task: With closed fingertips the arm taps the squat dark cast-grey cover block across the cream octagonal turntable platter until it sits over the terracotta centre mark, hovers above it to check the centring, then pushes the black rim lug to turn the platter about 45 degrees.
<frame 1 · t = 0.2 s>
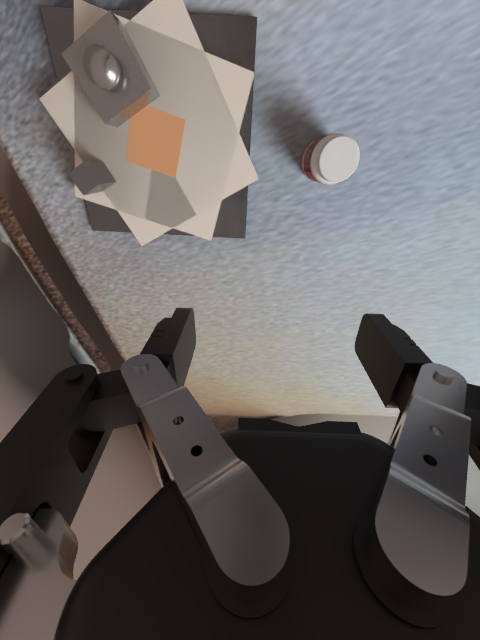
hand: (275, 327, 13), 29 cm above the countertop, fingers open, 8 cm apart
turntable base: (162, 142, 33), on the countertop
cover: (120, 80, 28), point 3 cm above the countertop, touching turntable
turntable: (150, 140, 29), point 5 cm above the countertop, hinge at 0.0°, touching cover
pill bottle: (319, 160, 34), on the countertop
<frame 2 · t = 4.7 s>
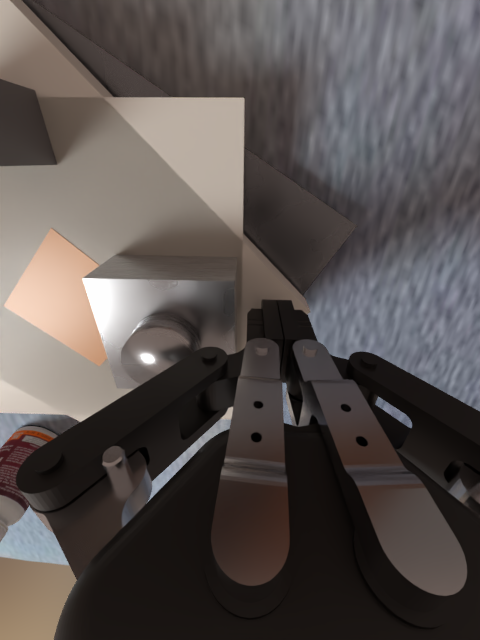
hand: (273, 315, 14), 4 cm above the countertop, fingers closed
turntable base: (105, 284, 17), on the countertop
cover: (182, 309, 14), point 3 cm above the countertop, touching gripper
turntable: (63, 320, 13), point 4 cm above the countertop, hinge at -0.2°
pill bottle: (42, 438, 26), on the countertop
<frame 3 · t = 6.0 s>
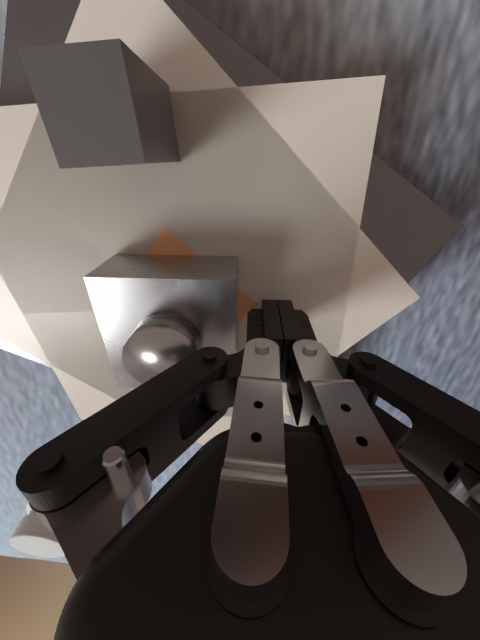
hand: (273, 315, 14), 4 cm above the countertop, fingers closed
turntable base: (190, 284, 17), on the countertop
cover: (182, 308, 15), point 3 cm above the countertop, touching gripper, turntable
turntable: (174, 320, 13), point 4 cm above the countertop, hinge at 3.7°, touching cover
pill bottle: (96, 439, 26), on the countertop
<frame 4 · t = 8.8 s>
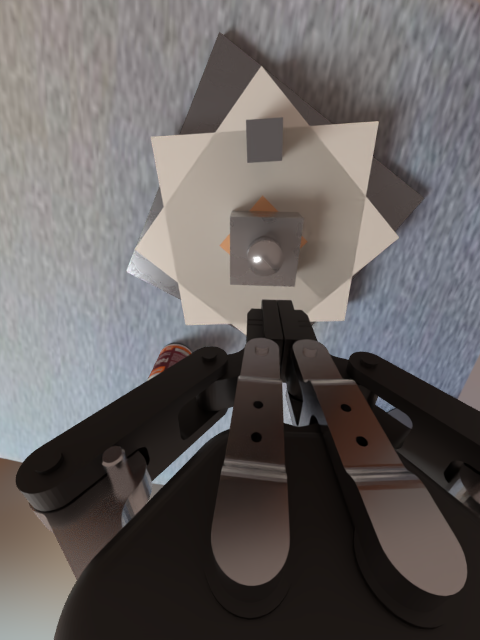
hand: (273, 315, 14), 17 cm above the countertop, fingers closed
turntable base: (261, 235, 28), on the countertop
cover: (263, 244, 26), point 3 cm above the countertop, touching turntable
turntable: (263, 247, 24), point 4 cm above the countertop, hinge at 3.8°, touching cover
pill bottle: (177, 355, 37), on the countertop
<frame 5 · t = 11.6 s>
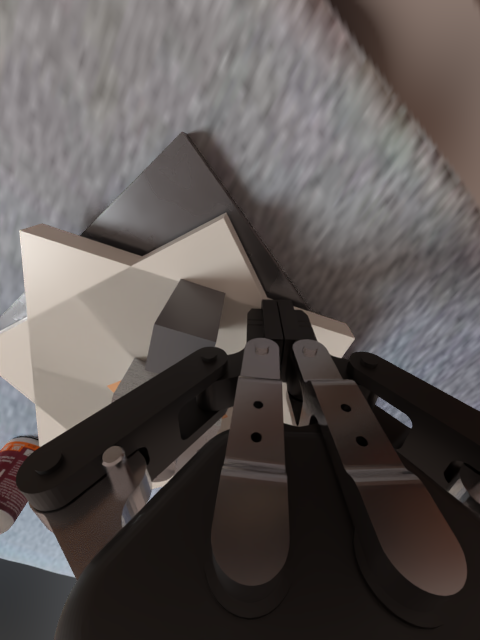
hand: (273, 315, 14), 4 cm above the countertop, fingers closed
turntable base: (179, 371, 21), on the countertop
cover: (169, 402, 18), point 3 cm above the countertop, touching turntable
turntable: (163, 418, 17), point 5 cm above the countertop, hinge at 4.1°, touching cover, gripper
pill bottle: (33, 448, 27), on the countertop
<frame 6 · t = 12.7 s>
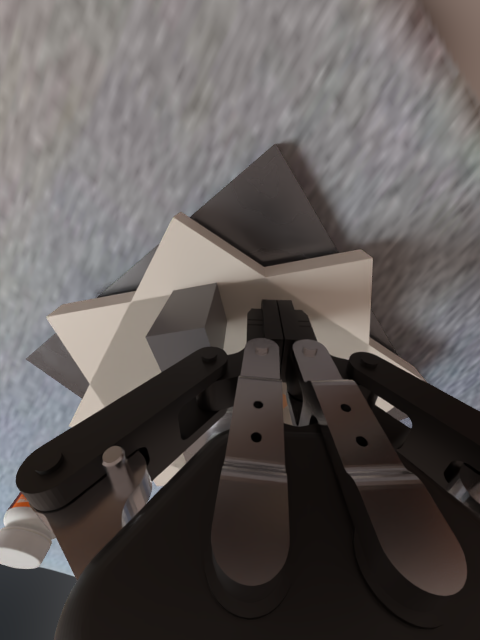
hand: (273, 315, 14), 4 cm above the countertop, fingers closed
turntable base: (234, 375, 21), on the countertop
cover: (232, 407, 18), point 3 cm above the countertop, touching turntable
turntable: (231, 423, 17), point 5 cm above the countertop, hinge at 34.5°, touching cover, gripper
pill bottle: (76, 453, 27), on the countertop
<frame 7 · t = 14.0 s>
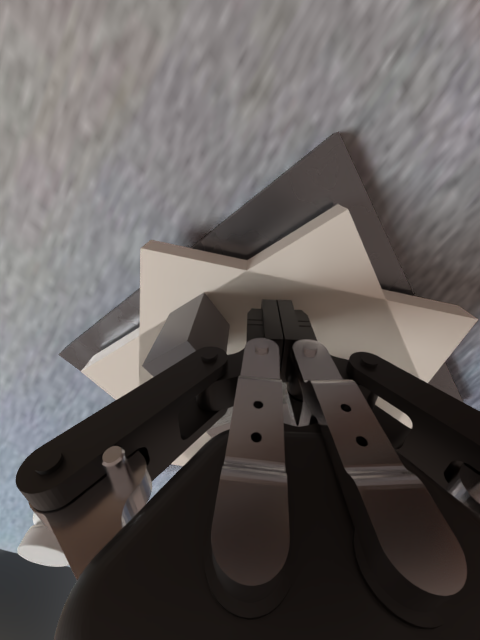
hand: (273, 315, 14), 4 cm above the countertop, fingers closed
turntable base: (268, 373, 21), on the countertop
cover: (272, 405, 18), point 3 cm above the countertop, touching turntable
turntable: (272, 421, 17), point 5 cm above the countertop, hinge at 56.5°, touching cover, gripper
pill bottle: (100, 449, 27), on the countertop
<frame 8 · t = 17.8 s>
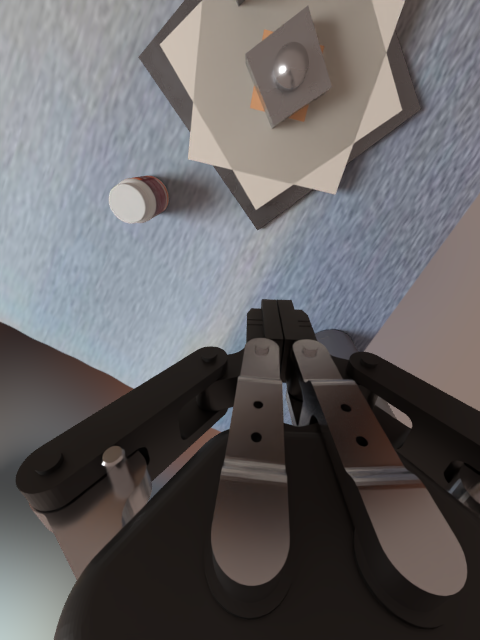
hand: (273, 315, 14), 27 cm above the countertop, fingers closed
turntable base: (282, 86, 30), on the countertop
cover: (285, 79, 27), point 3 cm above the countertop, touching turntable
turntable: (286, 74, 26), point 5 cm above the countertop, hinge at 56.5°, touching cover
pill bottle: (152, 195, 36), on the countertop
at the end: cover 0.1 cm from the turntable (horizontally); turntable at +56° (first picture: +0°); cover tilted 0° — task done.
